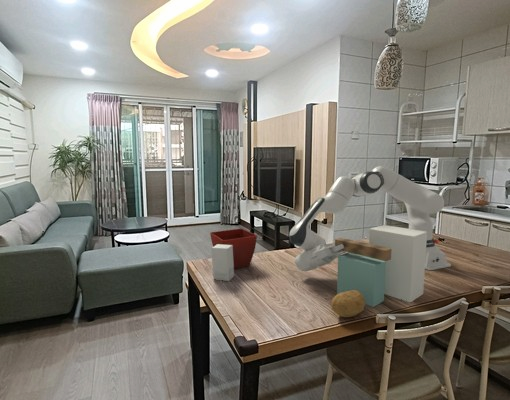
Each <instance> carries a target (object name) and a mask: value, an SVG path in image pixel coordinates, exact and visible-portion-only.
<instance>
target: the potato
mask: <svg viewBox="0 0 510 400" xmlns="http://www.w3.org/2000/svg"><path fill="white" fill-rule="evenodd" d="M365 306H366V304H365V299H364V297H363V295H362V294H361V293H360V292H359V291H356V290H350V291H346V292H341V293H339V294H337V293H336V295H335V296H334V297H332V299H331V303H330V307H331V310H333V313H334V314H337V315H338V316H339V317H340V318H351V317H355V316H357V315H359V314H361V312H362V311H364V308H365Z"/></svg>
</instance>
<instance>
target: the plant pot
mask: <svg viewBox="0 0 510 400" xmlns="http://www.w3.org/2000/svg"><path fill="white" fill-rule="evenodd" d="M257 239H258V235H257V234H255V233H253V232H251V231H248V230H246V229H244V228H235V229H227V230H226V229H225V230H219V231H218V230H217V231H211V232H210V240H211V244H212V247H214V246H215V245H217V244H222V245H233V264H234V270H237V269H240V268H246V267H249V266H250V265H251V262H252V260H253V257H254V254H255V250H256V244H257Z"/></svg>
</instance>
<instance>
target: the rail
mask: <svg viewBox="0 0 510 400" xmlns="http://www.w3.org/2000/svg"><path fill="white" fill-rule="evenodd" d="M334 243H335V246H338V245H341V244H345V248H343V249H341V250H342V251H346V252H345V253H348V252H350V253H354V254H358V255H362V256H366V257H370V258H374V259H378V260H382V261H388V260H390V259H391V251H392V249H391V248H386V247H382V246H377V245H372V244H369V242H368V243H367V242H362V241H357V240H353V239H348V238H344V237H339V238H335V239H334Z"/></svg>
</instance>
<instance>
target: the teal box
mask: <svg viewBox="0 0 510 400" xmlns="http://www.w3.org/2000/svg"><path fill="white" fill-rule="evenodd" d="M385 267H386V261H382V260H378V259H374V258H370V257H366V256H362V255H358V254H354V253H350V252H345V253H343V254H341V255H339V256H338V258H337V282H336V283H337V284H336V285H337V287H336V295H337V294H339V293H341V292H346V291H350V290H356V291H359V292H360V293H361V294H362V295H363V297H364V299H365V306H369V307H373V308H374V307H376V306H377V305H379V304H382V303H383V302H384V301H385V294H384V289H385Z"/></svg>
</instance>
